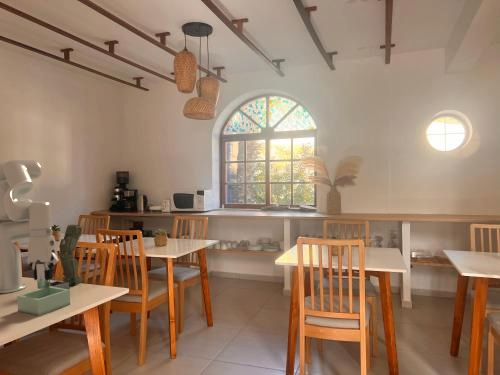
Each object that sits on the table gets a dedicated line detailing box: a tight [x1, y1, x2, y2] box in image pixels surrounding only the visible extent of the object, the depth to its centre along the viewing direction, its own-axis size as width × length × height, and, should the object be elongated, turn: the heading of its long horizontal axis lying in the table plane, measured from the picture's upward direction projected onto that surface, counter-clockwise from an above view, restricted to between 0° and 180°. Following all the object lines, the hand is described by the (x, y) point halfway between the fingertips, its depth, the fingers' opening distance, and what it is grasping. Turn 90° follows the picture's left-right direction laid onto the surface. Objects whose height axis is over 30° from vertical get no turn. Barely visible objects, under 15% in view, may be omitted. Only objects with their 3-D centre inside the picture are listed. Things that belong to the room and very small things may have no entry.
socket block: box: [50, 280, 71, 291], centre depth 156 cm, size 8×8×5 cm
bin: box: [16, 286, 71, 317], centre depth 140 cm, size 13×13×6 cm
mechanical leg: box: [58, 224, 84, 288], centre depth 172 cm, size 14×7×30 cm, turn 168°
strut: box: [36, 260, 51, 290], centre depth 140 cm, size 4×4×12 cm
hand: (43, 278), depth 140 cm, fingers closed on strut, 4 cm apart
